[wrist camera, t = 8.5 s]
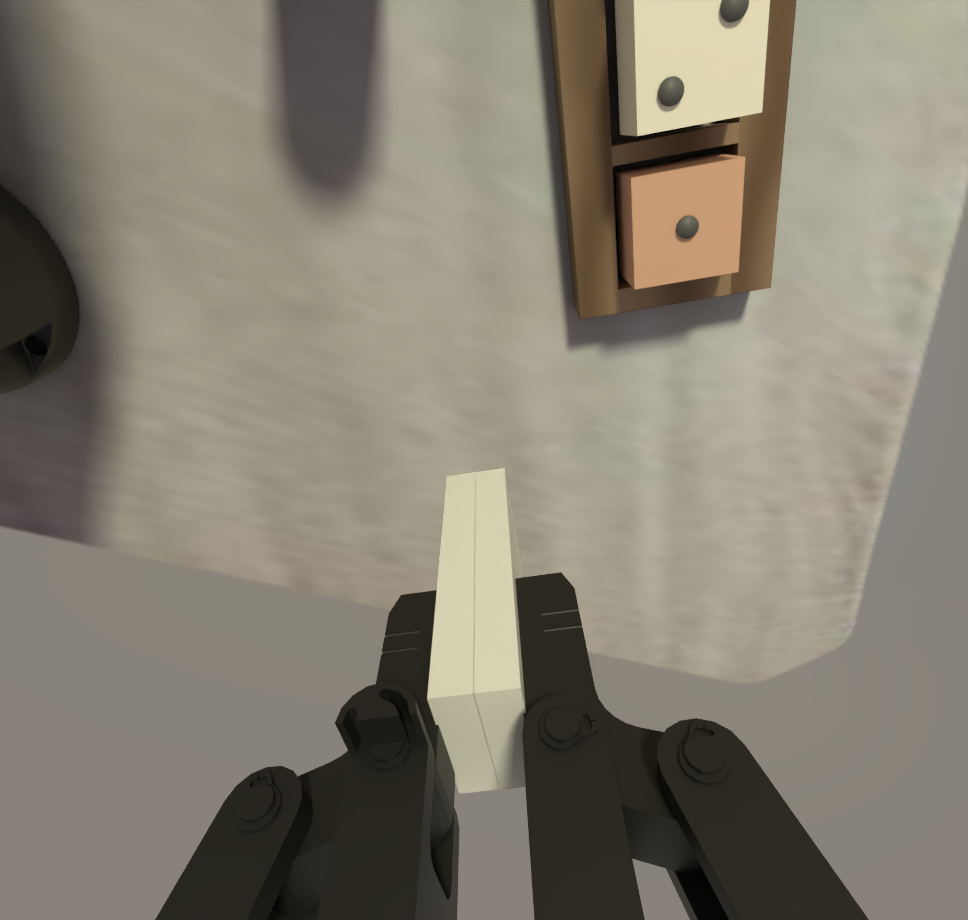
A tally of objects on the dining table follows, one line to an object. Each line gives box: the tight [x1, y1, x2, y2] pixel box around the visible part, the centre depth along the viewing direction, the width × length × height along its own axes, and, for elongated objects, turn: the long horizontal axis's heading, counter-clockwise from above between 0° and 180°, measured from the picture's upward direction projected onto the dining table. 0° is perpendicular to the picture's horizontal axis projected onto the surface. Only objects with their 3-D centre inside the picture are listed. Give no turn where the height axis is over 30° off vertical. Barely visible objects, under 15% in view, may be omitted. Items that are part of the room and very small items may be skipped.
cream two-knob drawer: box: [615, 0, 770, 136], centre depth 28 cm, size 6×6×4 cm
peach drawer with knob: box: [616, 153, 745, 289], centre depth 33 cm, size 6×6×4 cm
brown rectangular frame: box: [548, 0, 796, 319], centre depth 31 cm, size 12×26×2 cm, turn 10°
